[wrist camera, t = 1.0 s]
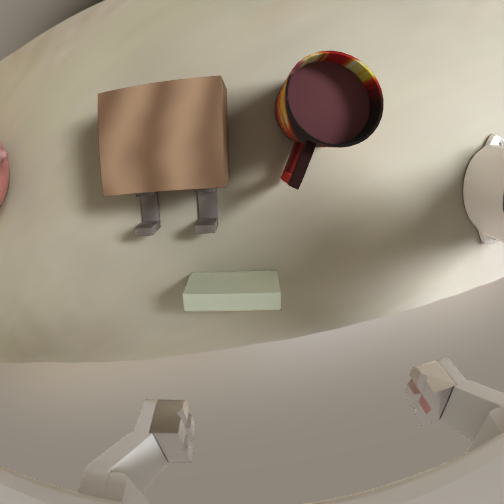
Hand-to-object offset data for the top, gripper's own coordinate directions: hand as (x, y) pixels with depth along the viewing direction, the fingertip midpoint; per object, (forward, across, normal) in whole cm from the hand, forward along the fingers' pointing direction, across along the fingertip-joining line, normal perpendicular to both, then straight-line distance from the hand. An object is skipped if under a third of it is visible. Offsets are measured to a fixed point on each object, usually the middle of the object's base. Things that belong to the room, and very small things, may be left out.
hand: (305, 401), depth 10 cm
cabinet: (+33, +10, -8) cm, 35 cm away
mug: (+33, -8, -11) cm, 35 cm away
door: (+33, +4, +10) cm, 35 cm away
